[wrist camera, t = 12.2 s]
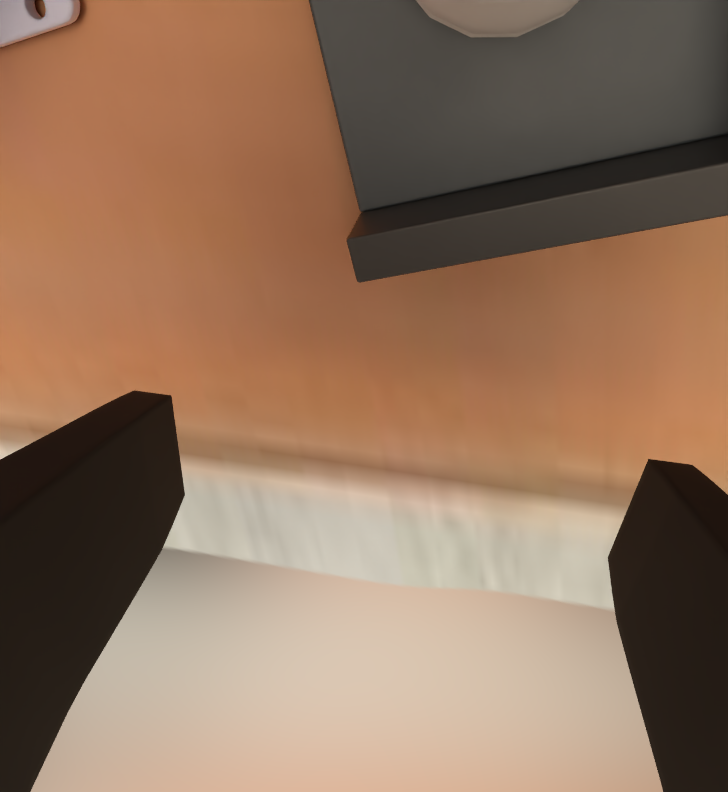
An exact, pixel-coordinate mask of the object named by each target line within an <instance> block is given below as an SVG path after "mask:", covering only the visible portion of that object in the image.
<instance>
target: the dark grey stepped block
mask: <svg viewBox="0 0 728 792" xmlns="http://www.w3.org/2000/svg"><path fill="white" fill-rule="evenodd" d="M309 3H310V7H311V11H312V15H313V20H314V24H315V28H316V32H317V36H318V40H319V45H320V49H321V53H322V57H323V61H324V65H325V69H326V74H327V78H328V82H329V86H330V90H331V94H332V98H333V103H334V107H335V111H336V115H337V119H338V123H339V127H340V132H341V136H342V140H343V144H344V148H345V152H346V156H347V161H348V165H349V169H350V173H351V177H352V181H353V185H354V190H355V194H356V198H357V202H358V206H359V210H360V211H361V214H360V216H359V217H358V219H357V221H356V223H355V225H354V227H353V229H352V230H351V232H350V234H349V236H348V238H347V244H348V248H349V252H350V256H351V260H352V264H353V268H354V271H355V275H356V279H357V282H365V281H371V280H376V279H382V278H387V277H393V276H398V275H404V274H409V273H415V272H420V271H426V270H431V269H437V268H442V267H447V266H453V265H458V264H464V263H469V262H475V261H480V260H486V259H491V258H497V257H502V256H508V255H513V254H518V253H524V252H529V251H535V250H540V249H546V248H551V247H557V246H562V245H568V244H573V243H579V242H584V241H590V240H595V239H600V238H606V237H611V236H617V235H622V234H628V233H633V232H639V231H644V230H650V229H655V228H661V227H666V226H672V225H677V224H682V223H688V222H693V221H699V220H704V219H710V218H715V217H721V216H726V215H728V0H579V1H578V2H577V3H576V4H575V5H574V6H573V7H572V8H571V9H570V10H569V11H568V12H567V13H566V14H565V15H564V16H562V17H560V18H557V19H555V20H553V21H551V22H549V23H546V24H544V25H542V26H540V27H538V28H536V29H533V30H531V31H529V32H527V33H525V34H522V35H520V36H518V37H469V36H467V35H465V34H463V33H461V32H459V31H456V30H454V29H452V28H450V27H448V26H446V25H444V24H442V23H440V22H438V21H436V20H434V19H432V18H430V17H429V16H428V15H427V14H426V12H425V11H424V10H423V9H422V7H421V6H420V5H419V4H418V2H417V1H416V0H309Z"/></svg>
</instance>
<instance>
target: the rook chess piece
mask: <svg viewBox="0 0 728 792" xmlns="http://www.w3.org/2000/svg"><path fill="white" fill-rule="evenodd" d="M416 1H417V2H418V4H419V5H420V6H421V7H422V9H423V10H424V11H425V12H426V14H427V15H428V16H429V17H430V18H432V19H434V20H436V21H438V22H440V23H442V24H444V25H446V26H448V27H450V28H452V29H454V30H456V31H459V32H461V33H463V34H465V35H467V36H469V37H518V36H520V35H522V34H525V33H527V32H529V31H531V30H533V29H536V28H538V27H540V26H542V25H544V24H546V23H549V22H551V21H553V20H555V19H557V18H560V17H562V16H564V15H565V14H566V13H567V12H568V11H569V10H570V9H571V8H572V7H573V6H574V5H575V4H576V3H577V2H578V1H579V0H416Z"/></svg>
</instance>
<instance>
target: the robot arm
mask: <svg viewBox="0 0 728 792" xmlns="http://www.w3.org/2000/svg"><path fill="white" fill-rule="evenodd" d="M43 2H44V3H45V8H46V12H45V16H44V17H41V16H40V15H39V14H38V12H37V11H36V8H35V0H0V48H1V47H4V46H7V45H10V44H13V43H16V42H19V41H22V40H25V39H28V38H31V37H34V36H37V35H40V34H43V33H46V32H49V31H52V30H55V29H58V28H61V27H64V26H67V25H70V24H71V23H73V22H74V21H76V20H77V18H78V16H79V14H80V2H79V0H43ZM184 496H185V493H184V485H183V478H182V471H181V463H180V456H179V448H178V441H177V434H176V426H175V419H174V412H173V404H172V397H171V395H163V394H156V393H148V392H141V391H132V392H130V393H128V394H125V395H123V396H121V397H119V398H117V399H115V400H113V401H111V402H109V403H107V404H105V405H103V406H101V407H99V408H97V409H95V410H93V411H91V412H89V413H88V414H86V415H84V416H82V417H80V418H78V419H76V420H74V421H73V422H71V423H69V424H67V425H65V426H63V427H61V428H59V429H58V430H56V431H54V432H52V433H50V434H48V435H46V436H44V437H42V438H41V439H39V440H37V441H35V442H33V443H31V444H29V445H27V446H25V447H24V448H22V449H20V450H18V451H16V452H14V453H12V454H10V455H8V456H6V457H4V458H3V459H1V460H0V792H30V791H31V789H32V787H33V785H34V782H35V780H36V778H37V776H38V774H39V772H40V770H41V768H42V766H43V763H44V761H45V759H46V757H47V755H48V753H49V751H50V749H51V746H52V744H53V742H54V740H55V738H56V736H57V734H58V732H59V730H60V727H61V725H62V723H63V721H64V719H65V717H66V715H67V713H68V711H69V709H70V707H71V705H72V703H73V701H74V700H75V698H76V696H77V694H78V692H79V690H80V689H81V687H82V684H83V683H84V681H85V679H86V678H87V676H88V674H89V673H90V671H91V669H92V668H93V666H94V664H95V663H96V661H97V659H98V657H99V656H100V654H101V652H102V651H103V649H104V647H105V646H106V644H107V642H108V641H109V639H110V637H111V636H112V634H113V632H114V630H115V629H116V627H117V625H118V624H119V622H120V620H121V619H122V617H123V615H124V614H125V612H126V610H127V609H128V607H129V605H130V604H131V602H132V600H133V598H134V597H135V595H136V593H137V592H138V590H139V588H140V587H141V585H142V583H143V581H144V580H145V578H146V576H147V575H148V573H149V571H150V569H151V568H152V566H153V564H154V563H155V561H156V559H157V557H158V555H159V554H160V552H161V550H162V548H163V546H164V543H165V541H166V539H167V537H168V534H169V532H170V530H171V527H172V525H173V523H174V520H175V518H176V515H177V513H178V510H179V508H180V505H181V503H182V500H183V498H184ZM608 562H609V570H610V578H611V586H612V594H613V601H614V607H615V614H616V620H617V625H618V628H619V632H620V636H621V640H622V644H623V647H624V651H625V654H626V658H627V662H628V666H629V669H630V673H631V676H632V680H633V684H634V688H635V691H636V694H637V698H638V702H639V705H640V709H641V712H642V716H643V720H644V723H645V727H646V730H647V734H648V737H649V741H650V744H651V748H652V752H653V755H654V759H655V762H656V766H657V770H658V773H659V777H660V780H661V784H662V788H663V792H728V495H727V494H726V493H725V492H724V491H723V490H722V489H721V488H719V487H718V486H717V485H716V484H715V483H714V482H713V481H711V480H710V479H709V478H708V477H707V476H705V475H704V474H703V473H702V472H701V471H699V470H698V469H697V468H695V467H694V466H693V465H689V464H681V463H674V462H666V461H659V460H651V459H648V462H647V464H646V466H645V469H644V471H643V474H642V476H641V479H640V481H639V483H638V486H637V488H636V491H635V493H634V495H633V498H632V500H631V503H630V505H629V508H628V510H627V512H626V515H625V517H624V520H623V522H622V525H621V527H620V529H619V532H618V534H617V537H616V539H615V541H614V544H613V546H612V549H611V551H610V554H609V556H608Z"/></svg>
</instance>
